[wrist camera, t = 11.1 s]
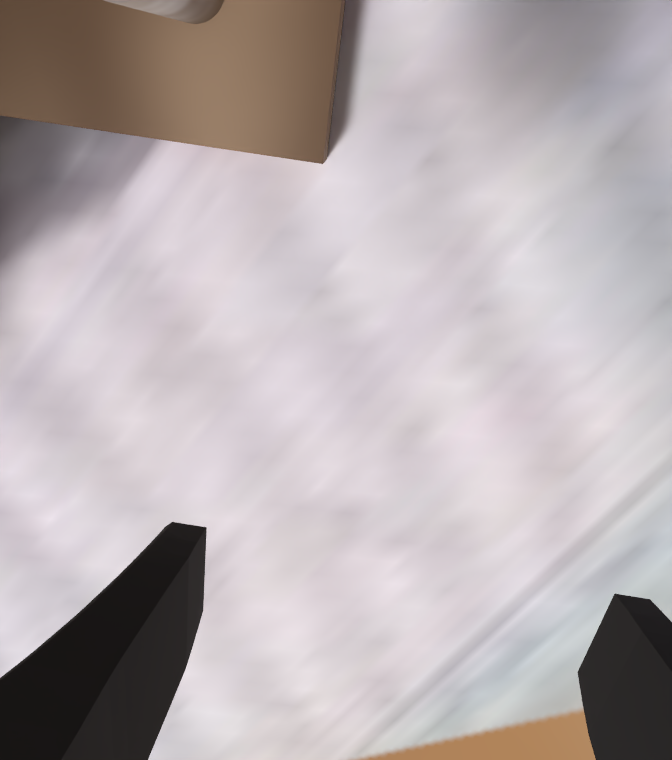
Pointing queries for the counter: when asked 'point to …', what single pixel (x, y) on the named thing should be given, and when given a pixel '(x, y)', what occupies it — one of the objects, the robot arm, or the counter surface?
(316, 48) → the stake board
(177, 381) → the counter surface
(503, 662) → the counter surface
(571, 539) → the counter surface
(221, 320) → the counter surface
